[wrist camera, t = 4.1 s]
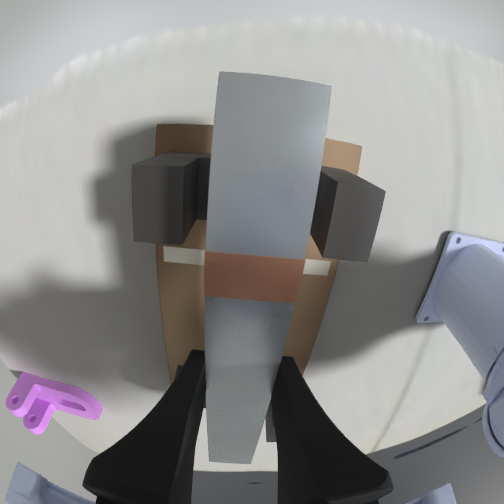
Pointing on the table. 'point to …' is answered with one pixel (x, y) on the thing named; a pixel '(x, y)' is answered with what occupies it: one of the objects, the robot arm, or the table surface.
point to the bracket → (48, 401)
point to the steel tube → (256, 244)
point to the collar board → (195, 227)
